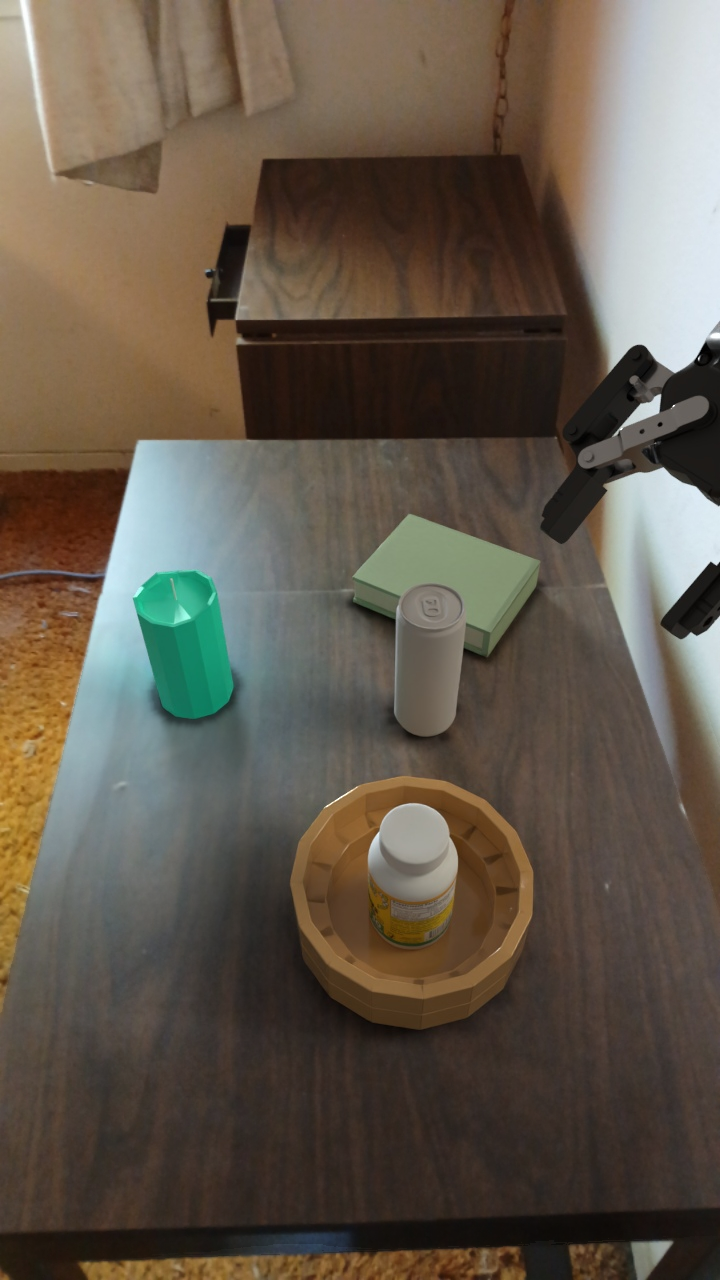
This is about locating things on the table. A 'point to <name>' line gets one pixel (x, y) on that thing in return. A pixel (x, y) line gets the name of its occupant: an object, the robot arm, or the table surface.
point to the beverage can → (428, 657)
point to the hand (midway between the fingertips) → (607, 582)
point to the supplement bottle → (412, 877)
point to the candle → (185, 642)
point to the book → (449, 577)
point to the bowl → (480, 923)
